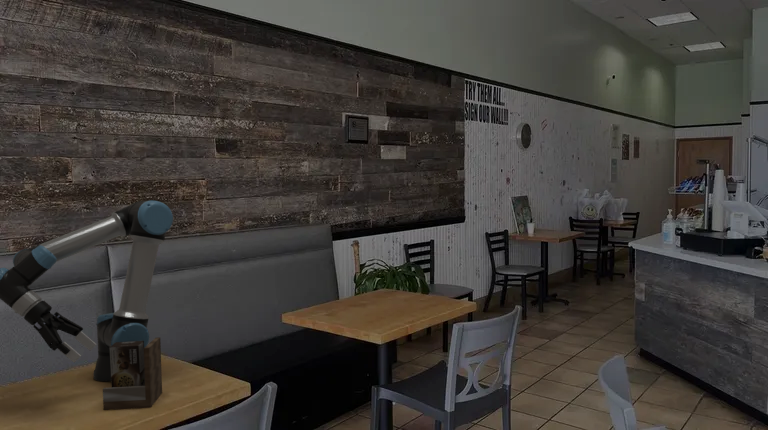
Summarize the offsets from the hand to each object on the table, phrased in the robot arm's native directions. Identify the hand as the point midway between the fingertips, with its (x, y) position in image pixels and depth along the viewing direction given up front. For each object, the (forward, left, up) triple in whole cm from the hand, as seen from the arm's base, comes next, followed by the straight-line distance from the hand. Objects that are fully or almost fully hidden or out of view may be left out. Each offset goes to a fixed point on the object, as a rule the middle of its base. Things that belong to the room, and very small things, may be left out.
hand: (86, 353), depth 192 cm
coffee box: (-5, +12, -14) cm, 19 cm away
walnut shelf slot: (-6, +13, -16) cm, 21 cm away
